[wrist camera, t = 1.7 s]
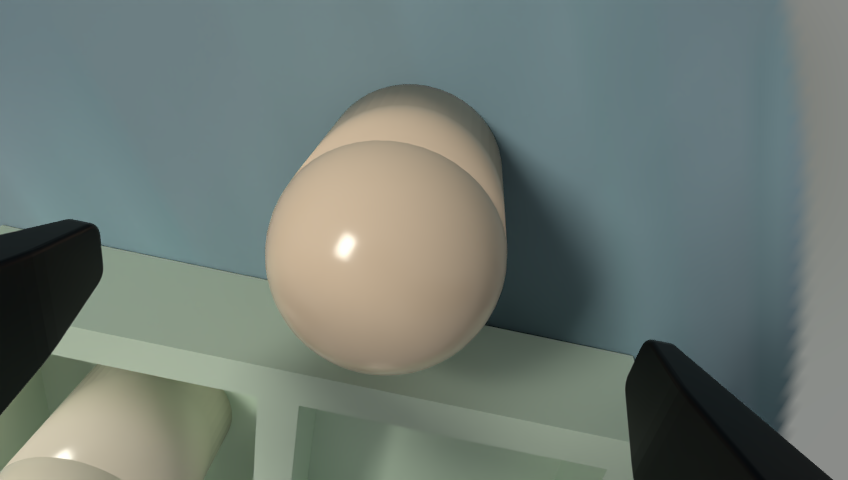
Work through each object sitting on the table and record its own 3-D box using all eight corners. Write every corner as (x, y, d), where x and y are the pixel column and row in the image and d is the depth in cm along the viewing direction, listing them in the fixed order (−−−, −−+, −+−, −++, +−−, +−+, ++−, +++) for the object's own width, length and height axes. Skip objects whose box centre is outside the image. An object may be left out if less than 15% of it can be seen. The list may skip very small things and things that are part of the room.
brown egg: (479, 266, 15) (474, 453, 10) (316, 232, 15) (223, 400, 10) (522, 105, 13) (547, 229, 8) (334, 66, 13) (226, 162, 8)
